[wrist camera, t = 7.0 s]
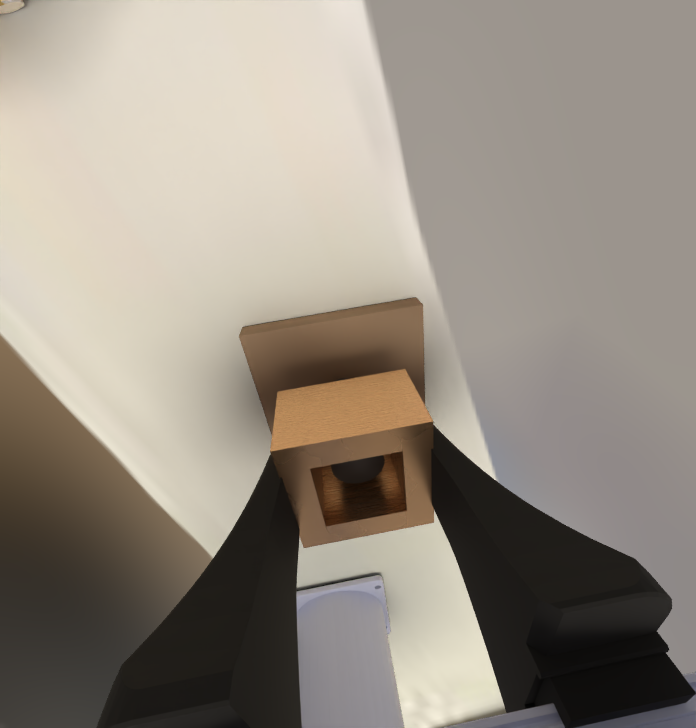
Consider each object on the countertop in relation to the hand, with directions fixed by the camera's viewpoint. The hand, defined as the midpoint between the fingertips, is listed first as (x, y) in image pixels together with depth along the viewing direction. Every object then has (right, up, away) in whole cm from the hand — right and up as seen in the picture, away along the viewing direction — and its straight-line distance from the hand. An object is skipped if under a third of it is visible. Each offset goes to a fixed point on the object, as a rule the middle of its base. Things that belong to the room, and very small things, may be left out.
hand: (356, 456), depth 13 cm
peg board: (-1, +3, +4) cm, 5 cm away
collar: (0, +1, +1) cm, 2 cm away
